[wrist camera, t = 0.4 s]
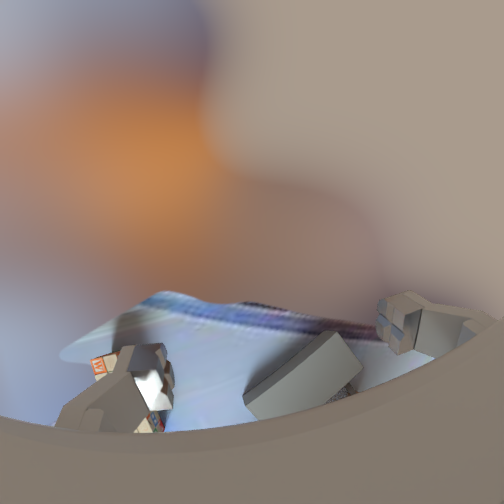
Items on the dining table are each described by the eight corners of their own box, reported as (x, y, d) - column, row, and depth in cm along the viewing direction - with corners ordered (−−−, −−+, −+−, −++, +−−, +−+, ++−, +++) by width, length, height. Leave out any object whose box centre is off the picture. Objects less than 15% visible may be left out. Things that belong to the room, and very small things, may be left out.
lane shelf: (349, 363, 61) (363, 367, 54) (271, 427, 56) (277, 439, 49) (324, 329, 62) (337, 331, 55) (242, 396, 57) (245, 406, 50)
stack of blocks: (166, 428, 53) (156, 451, 41) (143, 432, 52) (129, 454, 40) (133, 346, 56) (115, 353, 45) (110, 352, 55) (88, 359, 43)
